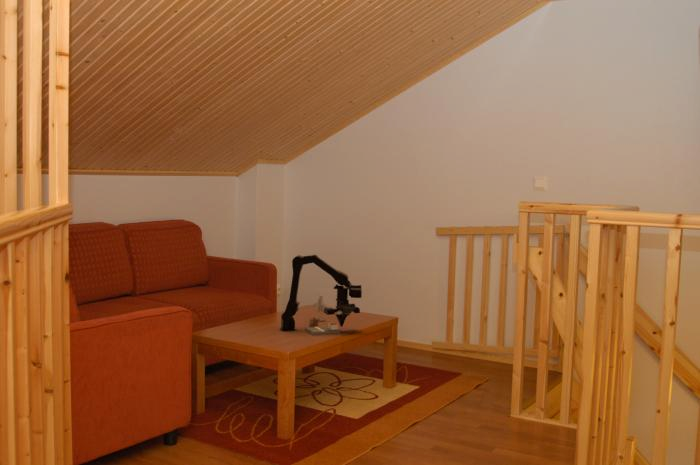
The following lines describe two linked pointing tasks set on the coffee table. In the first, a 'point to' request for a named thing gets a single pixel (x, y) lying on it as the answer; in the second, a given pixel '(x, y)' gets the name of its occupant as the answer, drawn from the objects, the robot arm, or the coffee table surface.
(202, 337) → the coffee table surface
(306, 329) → the board
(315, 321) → the wooden knobbed box
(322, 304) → the figurine
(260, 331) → the coffee table surface
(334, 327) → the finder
